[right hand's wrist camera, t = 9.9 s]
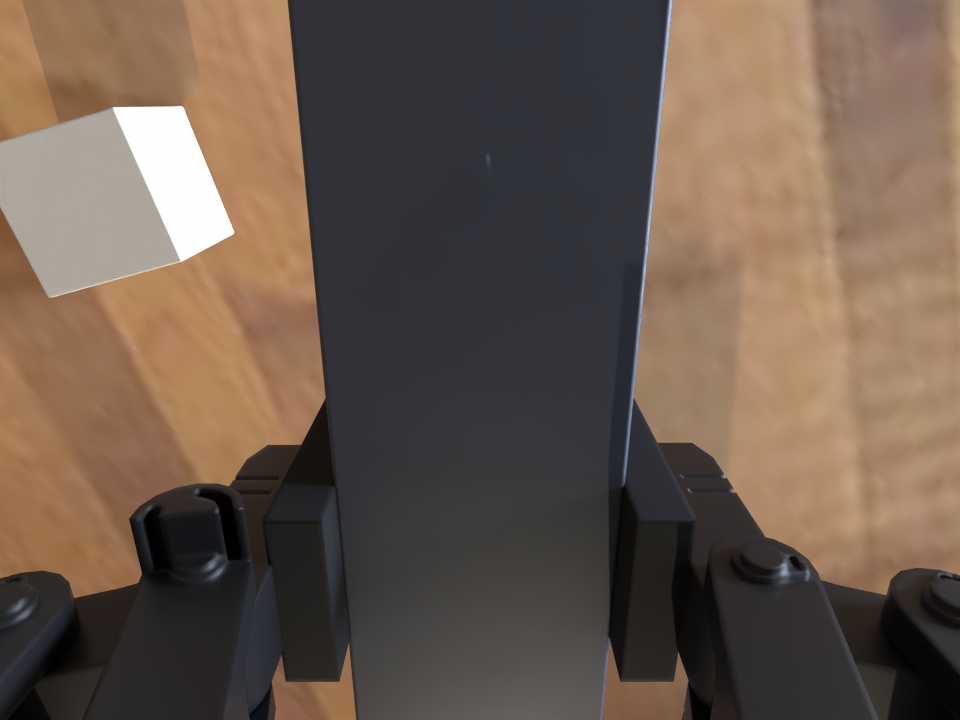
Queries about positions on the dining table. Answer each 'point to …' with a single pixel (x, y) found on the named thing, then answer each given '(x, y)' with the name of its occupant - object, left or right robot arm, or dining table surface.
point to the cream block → (109, 196)
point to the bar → (479, 333)
